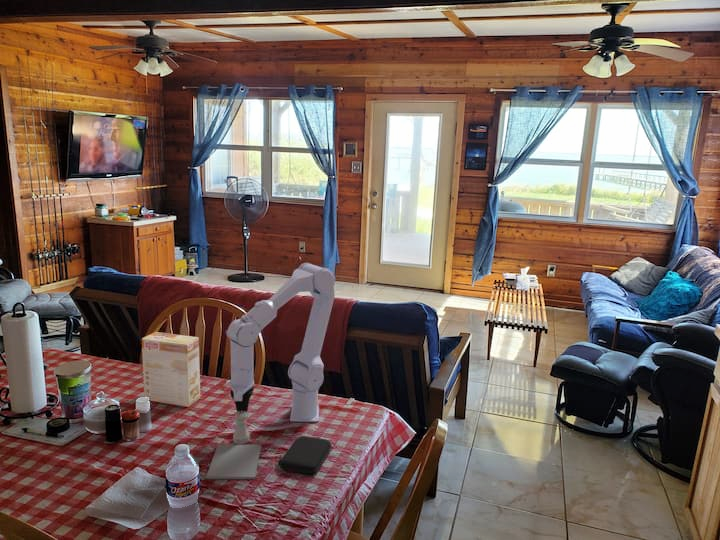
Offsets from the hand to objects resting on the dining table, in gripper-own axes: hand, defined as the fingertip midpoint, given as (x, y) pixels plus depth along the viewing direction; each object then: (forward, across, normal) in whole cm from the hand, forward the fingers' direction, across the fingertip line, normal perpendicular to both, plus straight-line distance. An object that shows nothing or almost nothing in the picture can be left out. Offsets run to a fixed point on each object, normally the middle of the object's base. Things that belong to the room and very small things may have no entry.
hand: (242, 414), depth 143 cm
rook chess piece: (+6, +2, 0) cm, 7 cm away
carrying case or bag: (+7, +11, +17) cm, 21 cm away
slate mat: (+6, +12, 0) cm, 14 cm away
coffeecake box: (+7, -22, -24) cm, 33 cm away
